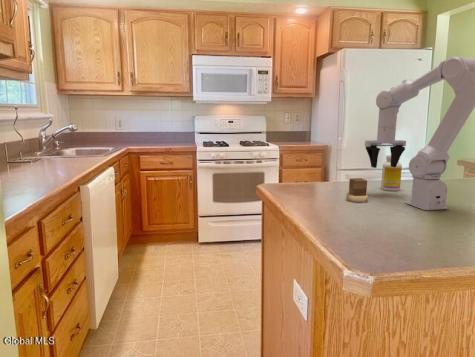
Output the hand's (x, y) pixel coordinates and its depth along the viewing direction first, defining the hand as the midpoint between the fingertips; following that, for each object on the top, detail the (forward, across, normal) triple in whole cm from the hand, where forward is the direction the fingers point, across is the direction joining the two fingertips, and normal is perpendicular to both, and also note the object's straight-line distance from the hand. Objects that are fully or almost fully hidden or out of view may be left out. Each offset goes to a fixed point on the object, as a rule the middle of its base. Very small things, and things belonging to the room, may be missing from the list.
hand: (383, 167), depth 122 cm
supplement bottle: (+10, -9, -8) cm, 16 cm away
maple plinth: (+10, +13, +6) cm, 17 cm away
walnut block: (+8, +13, +6) cm, 16 cm away
